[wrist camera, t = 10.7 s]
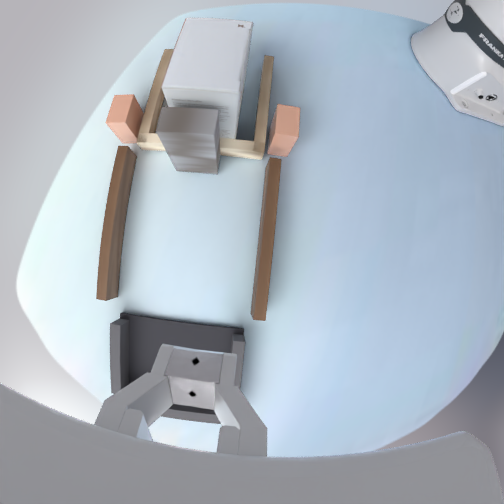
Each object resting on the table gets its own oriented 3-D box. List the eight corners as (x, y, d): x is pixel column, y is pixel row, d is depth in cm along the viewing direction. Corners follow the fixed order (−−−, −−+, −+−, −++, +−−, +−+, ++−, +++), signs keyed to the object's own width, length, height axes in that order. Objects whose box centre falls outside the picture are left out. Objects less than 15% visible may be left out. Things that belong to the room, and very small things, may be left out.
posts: (288, 130, 28) (300, 107, 23) (286, 156, 28) (298, 137, 23) (129, 118, 27) (114, 95, 22) (122, 143, 26) (105, 122, 21)
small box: (195, 81, 27) (185, 15, 17) (245, 85, 28) (254, 19, 17) (179, 143, 27) (158, 87, 16) (234, 149, 27) (240, 92, 17)
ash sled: (271, 67, 28) (285, 13, 19) (259, 179, 27) (274, 142, 18) (167, 59, 27) (154, 6, 18) (138, 168, 26) (104, 131, 17)
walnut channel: (275, 169, 28) (281, 159, 25) (261, 314, 27) (265, 320, 24) (128, 156, 26) (118, 145, 23) (108, 295, 26) (96, 298, 23)
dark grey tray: (243, 328, 27) (245, 336, 24) (235, 410, 26) (236, 424, 23) (121, 312, 26) (110, 318, 23) (121, 393, 25) (112, 406, 22)
